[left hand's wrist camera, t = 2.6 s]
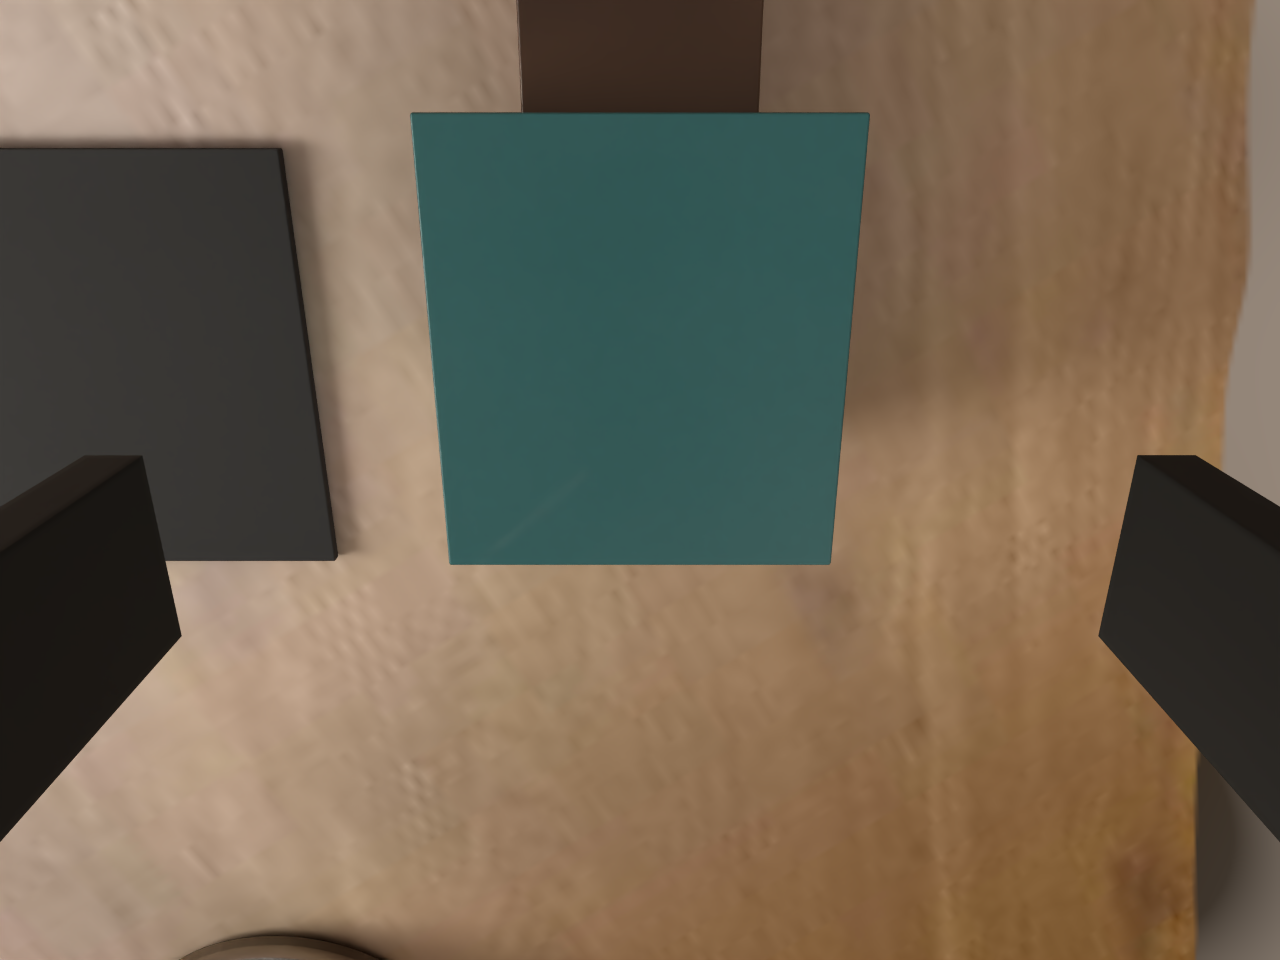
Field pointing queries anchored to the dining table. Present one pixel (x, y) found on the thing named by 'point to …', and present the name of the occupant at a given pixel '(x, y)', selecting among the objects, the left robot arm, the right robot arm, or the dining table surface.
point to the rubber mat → (164, 341)
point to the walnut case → (640, 55)
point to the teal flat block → (640, 331)
